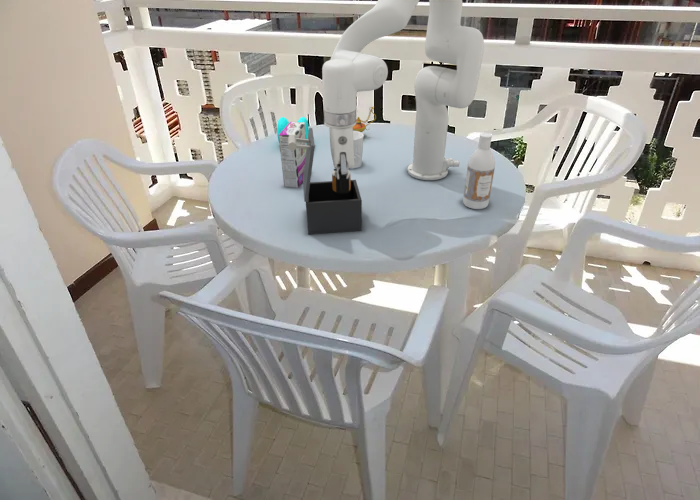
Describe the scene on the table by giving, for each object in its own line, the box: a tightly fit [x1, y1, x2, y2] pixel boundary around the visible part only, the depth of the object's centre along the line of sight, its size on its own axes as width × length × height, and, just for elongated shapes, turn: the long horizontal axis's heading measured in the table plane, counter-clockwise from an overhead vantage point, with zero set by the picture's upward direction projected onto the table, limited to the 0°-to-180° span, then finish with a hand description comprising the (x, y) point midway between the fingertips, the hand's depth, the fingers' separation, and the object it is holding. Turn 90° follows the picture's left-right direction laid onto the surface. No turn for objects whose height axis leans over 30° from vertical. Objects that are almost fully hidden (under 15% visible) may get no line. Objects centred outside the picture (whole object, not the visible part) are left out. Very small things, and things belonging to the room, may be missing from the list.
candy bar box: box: [277, 121, 307, 189], centre depth 142 cm, size 11×5×16 cm, turn 168°
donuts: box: [276, 116, 310, 144], centre depth 167 cm, size 10×10×10 cm
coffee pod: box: [331, 169, 352, 192], centre depth 120 cm, size 5×5×4 cm
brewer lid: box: [288, 127, 316, 203], centre depth 116 cm, size 14×12×6 cm
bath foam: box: [462, 132, 496, 210], centre depth 128 cm, size 7×7×20 cm
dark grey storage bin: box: [305, 179, 363, 235], centre depth 124 cm, size 14×12×9 cm
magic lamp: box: [352, 106, 377, 133], centre depth 173 cm, size 7×18×11 cm, turn 99°
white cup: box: [348, 131, 364, 170], centre depth 153 cm, size 8×8×10 cm
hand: (341, 187), depth 121 cm, fingers closed on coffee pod, 4 cm apart
